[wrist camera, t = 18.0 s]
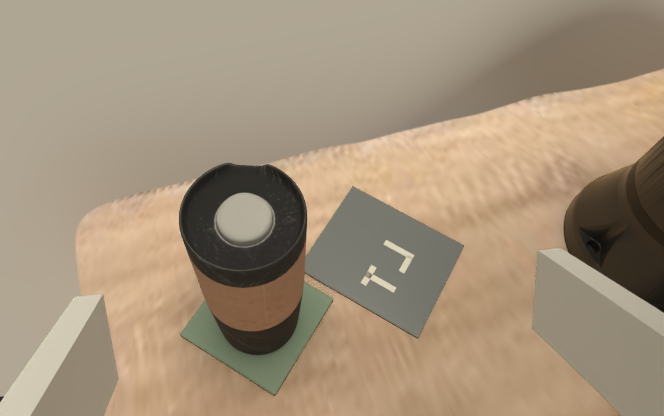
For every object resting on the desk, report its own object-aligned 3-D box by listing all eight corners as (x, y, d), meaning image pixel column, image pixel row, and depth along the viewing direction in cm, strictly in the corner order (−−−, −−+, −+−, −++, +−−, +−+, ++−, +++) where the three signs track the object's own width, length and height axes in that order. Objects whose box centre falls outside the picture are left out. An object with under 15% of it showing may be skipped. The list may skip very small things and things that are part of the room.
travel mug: (255, 377, 46) (235, 302, 28) (199, 315, 48) (148, 209, 30) (318, 317, 49) (336, 215, 31) (263, 261, 51) (250, 137, 33)
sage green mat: (332, 300, 50) (333, 298, 50) (274, 395, 46) (274, 394, 45) (245, 249, 52) (244, 247, 52) (181, 336, 48) (179, 334, 47)
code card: (463, 246, 54) (464, 245, 54) (417, 338, 49) (417, 337, 49) (352, 187, 56) (352, 186, 56) (298, 269, 51) (298, 268, 51)
